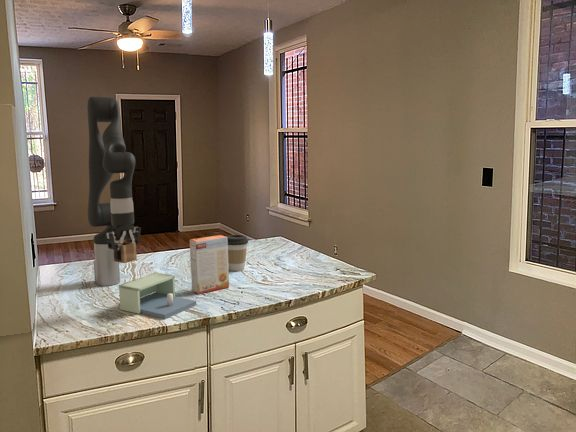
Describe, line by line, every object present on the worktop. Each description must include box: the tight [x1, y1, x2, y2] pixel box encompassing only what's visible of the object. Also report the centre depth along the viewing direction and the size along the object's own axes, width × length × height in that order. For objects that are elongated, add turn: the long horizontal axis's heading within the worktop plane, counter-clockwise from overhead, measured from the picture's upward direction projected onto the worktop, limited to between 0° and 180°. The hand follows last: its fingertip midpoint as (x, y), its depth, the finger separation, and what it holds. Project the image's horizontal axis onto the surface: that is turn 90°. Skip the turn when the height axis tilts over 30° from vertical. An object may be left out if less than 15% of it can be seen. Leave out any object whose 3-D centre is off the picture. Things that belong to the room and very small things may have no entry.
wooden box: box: [113, 241, 138, 264], centre depth 176 cm, size 5×5×6 cm
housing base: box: [140, 292, 197, 320], centre depth 180 cm, size 20×16×6 cm
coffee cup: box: [226, 234, 249, 272], centre depth 228 cm, size 11×11×15 cm
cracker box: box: [189, 234, 230, 295], centre depth 198 cm, size 14×6×21 cm, turn 127°
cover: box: [118, 272, 176, 314], centre depth 182 cm, size 9×18×9 cm, turn 150°
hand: (125, 258), depth 176 cm, fingers closed on wooden box, 5 cm apart
